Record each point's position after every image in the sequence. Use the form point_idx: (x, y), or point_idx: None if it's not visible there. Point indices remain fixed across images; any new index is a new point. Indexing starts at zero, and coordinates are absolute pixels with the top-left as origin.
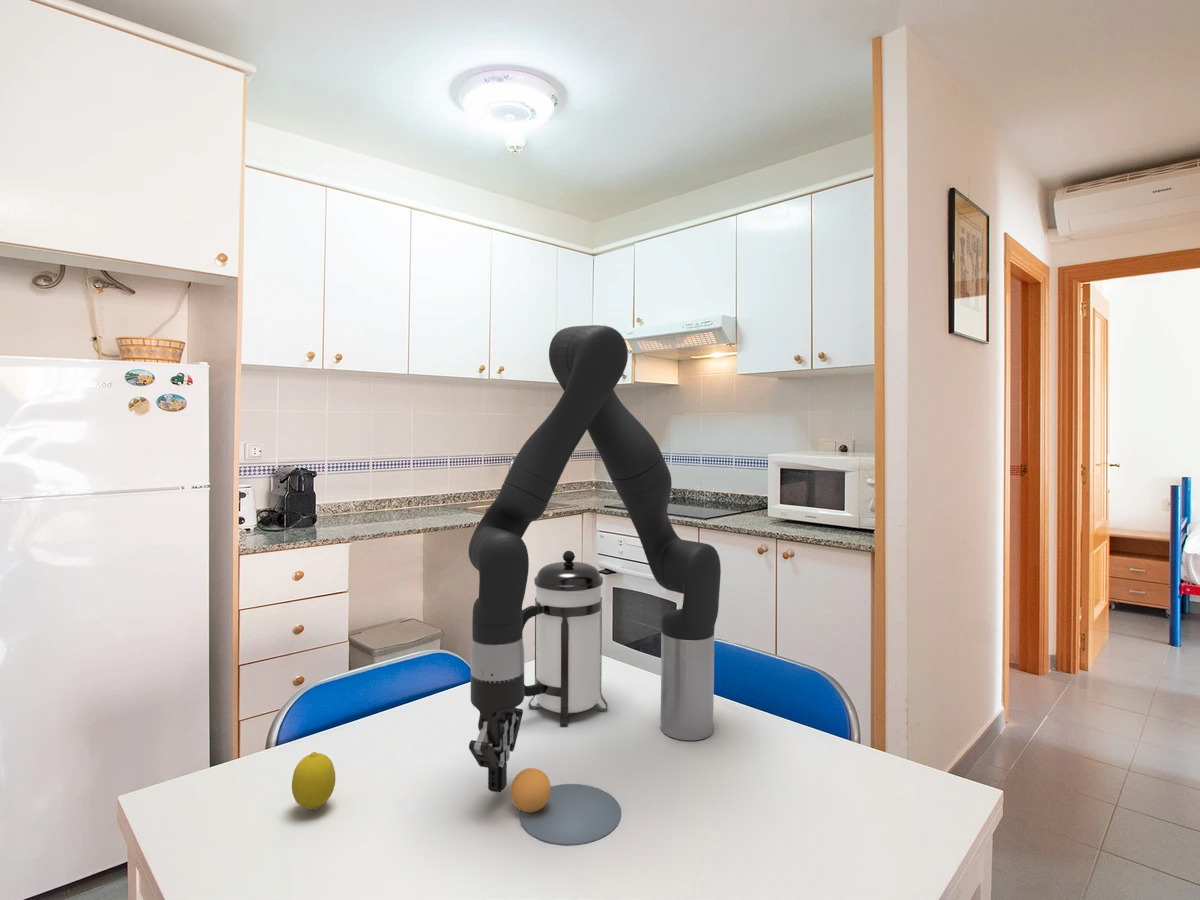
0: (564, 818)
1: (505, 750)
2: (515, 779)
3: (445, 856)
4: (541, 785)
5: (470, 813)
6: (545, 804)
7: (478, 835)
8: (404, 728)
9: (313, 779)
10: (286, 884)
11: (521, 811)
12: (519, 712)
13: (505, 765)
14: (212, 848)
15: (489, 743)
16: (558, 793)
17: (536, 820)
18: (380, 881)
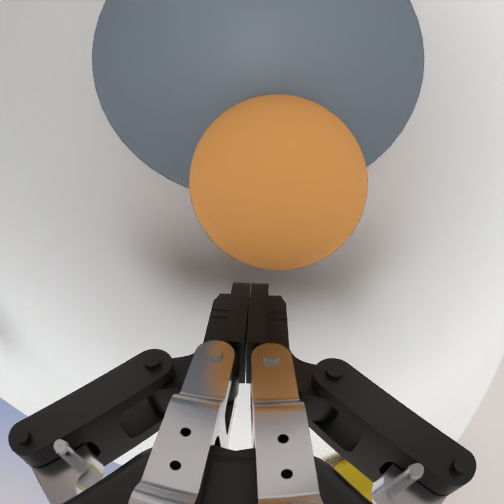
0: (302, 38)
1: (228, 389)
2: (317, 261)
3: (472, 290)
4: (323, 123)
5: (331, 314)
6: None
7: (416, 261)
8: None
9: (370, 496)
10: (473, 405)
11: None
12: (33, 454)
13: (234, 335)
14: None
15: (414, 481)
16: (162, 109)
17: None
18: (499, 339)
